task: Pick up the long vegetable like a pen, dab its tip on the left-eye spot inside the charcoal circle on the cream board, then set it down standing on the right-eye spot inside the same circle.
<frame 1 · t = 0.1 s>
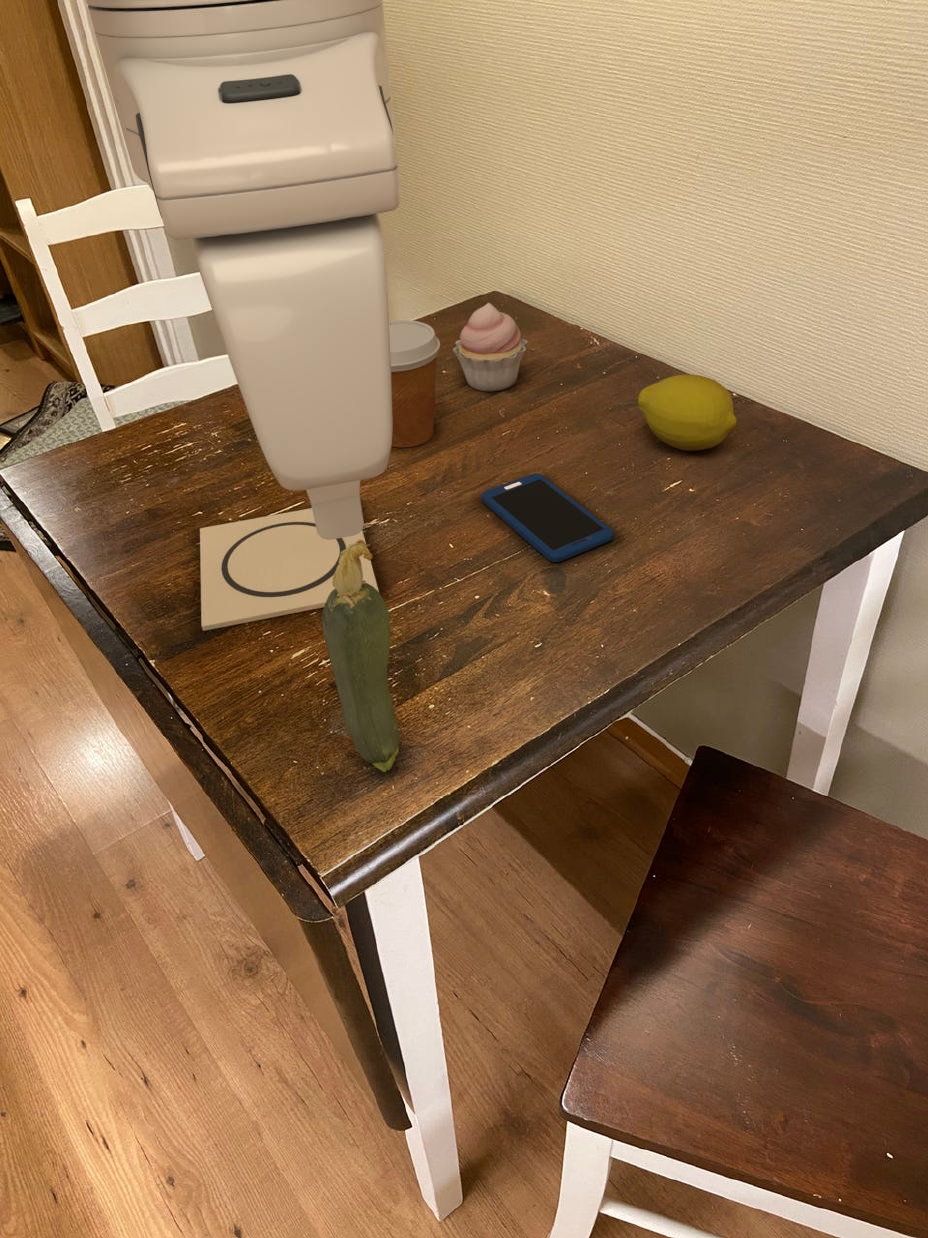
hand: (326, 467, 38), 31 cm above the table, tool pointing down, fingers open, 8 cm apart
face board: (285, 562, 85), on the table
cupcake: (492, 382, 113), on the table
cell phone: (544, 519, 88), on the table
lemon: (684, 446, 98), on the table
disposable coffee cup: (407, 436, 104), on the table
vegetable: (381, 758, 66), on the table
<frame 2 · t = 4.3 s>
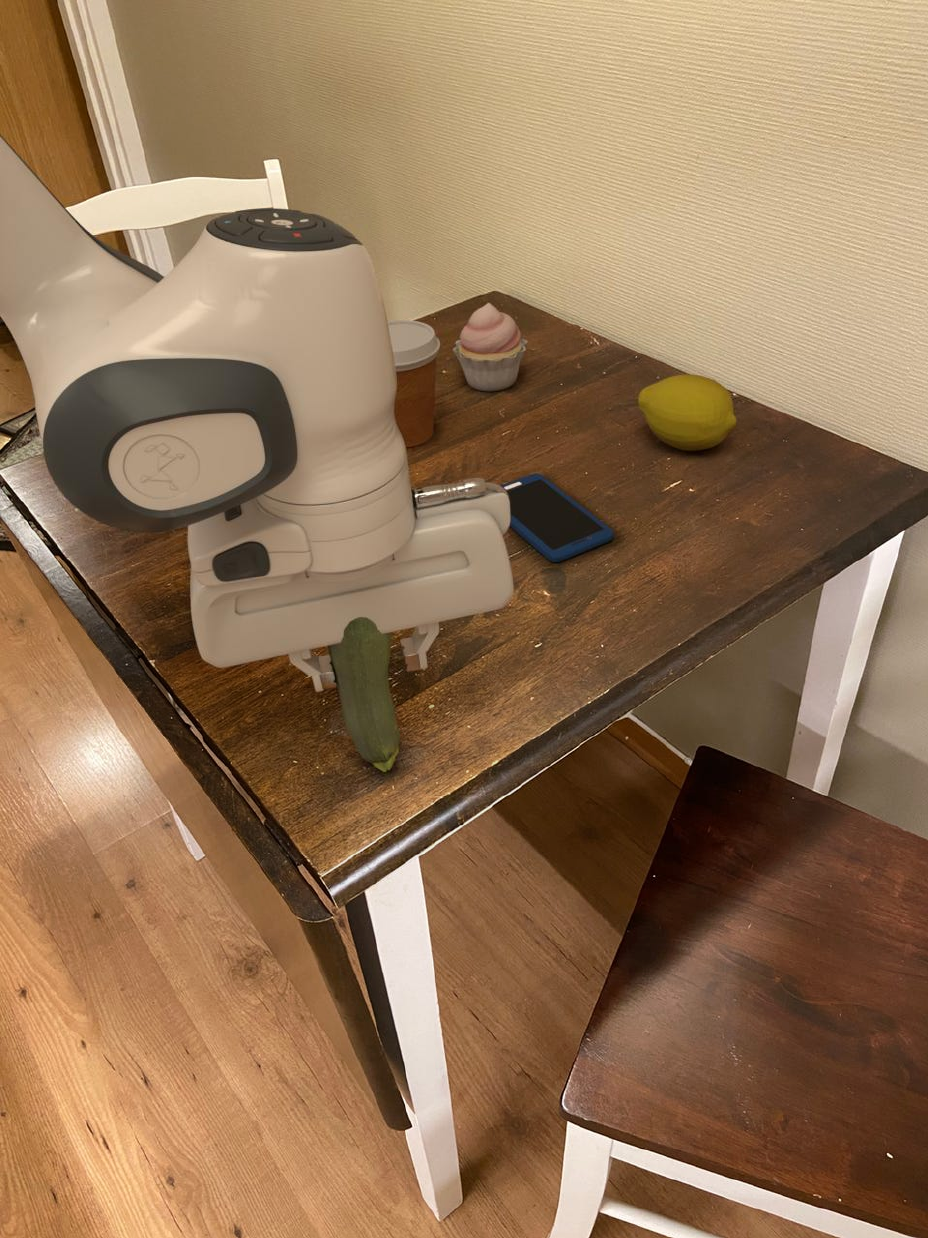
hand: (371, 674, 61), 8 cm above the table, tool pointing down, fingers open, 5 cm apart
vegetable: (381, 758, 66), on the table, touching arm, gripper
everything else where it was.
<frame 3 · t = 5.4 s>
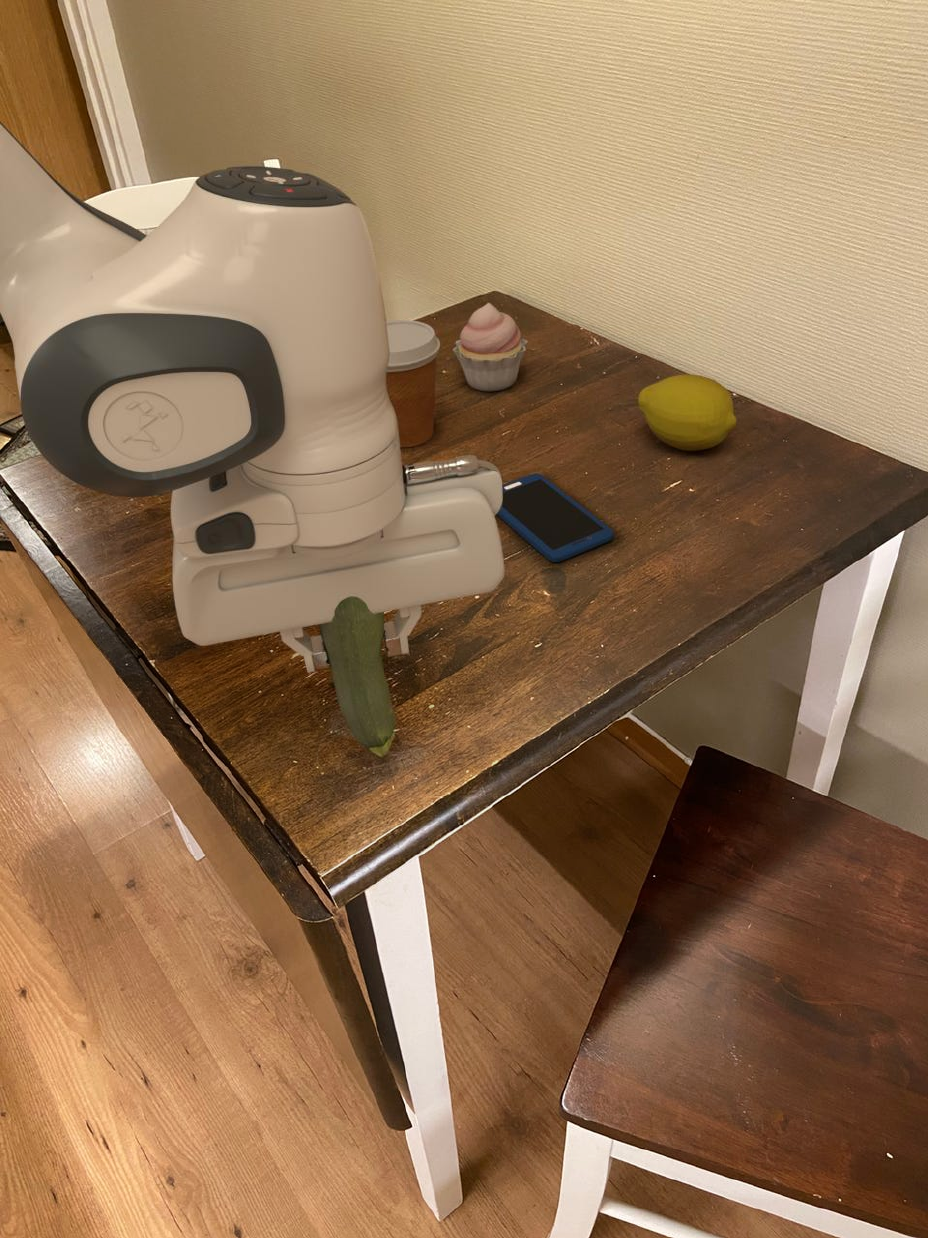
hand: (356, 657, 59), 10 cm above the table, tool pointing down, fingers closed on vegetable, 4 cm apart
vegetable: (378, 743, 65), point 2 cm above the table, touching arm, gripper
everything else where it was.
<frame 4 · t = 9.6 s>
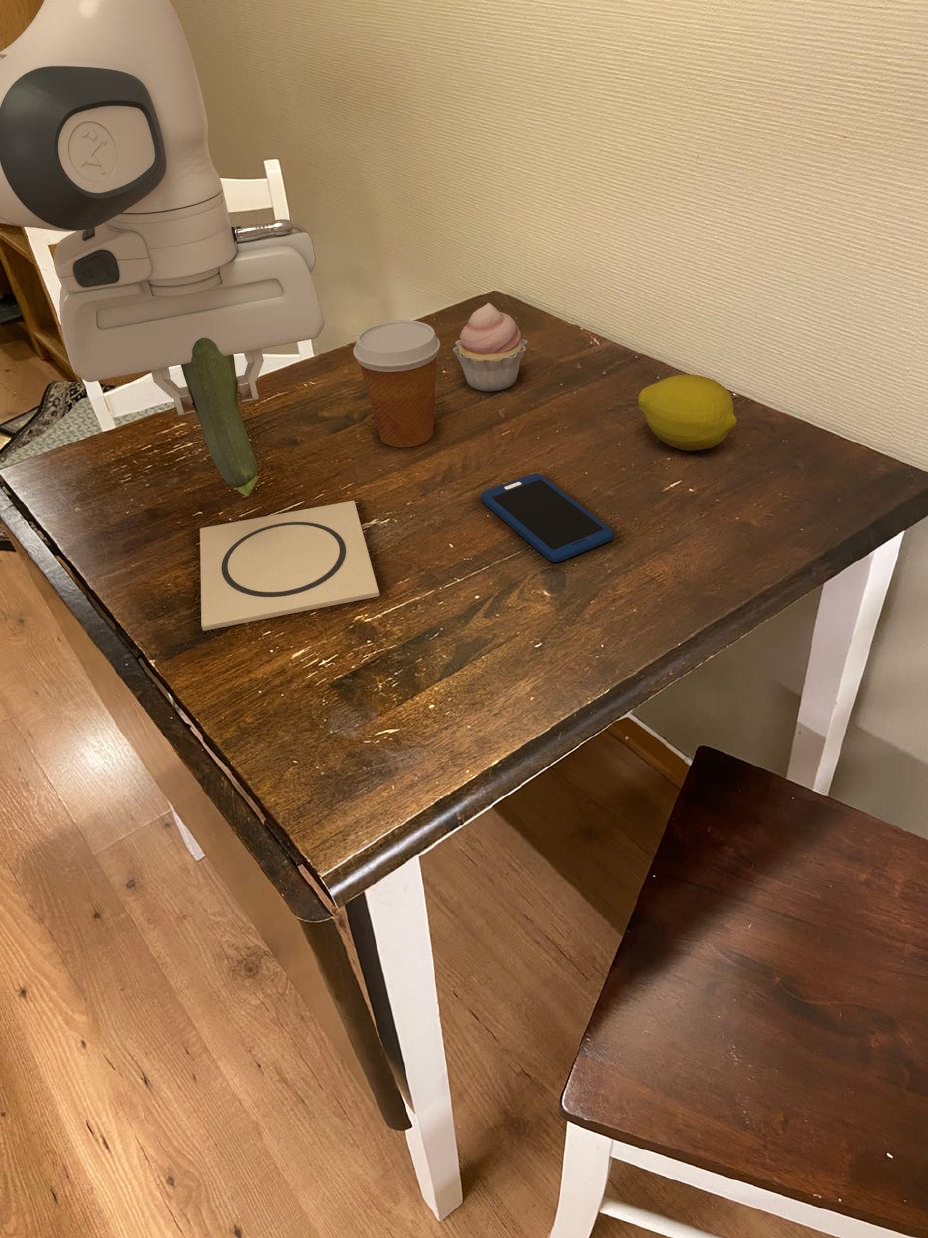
hand: (218, 404, 75), 17 cm above the table, tool pointing down, fingers closed on vegetable, 4 cm apart
vegetable: (245, 490, 81), point 8 cm above the table, touching arm, gripper
everything else where it was.
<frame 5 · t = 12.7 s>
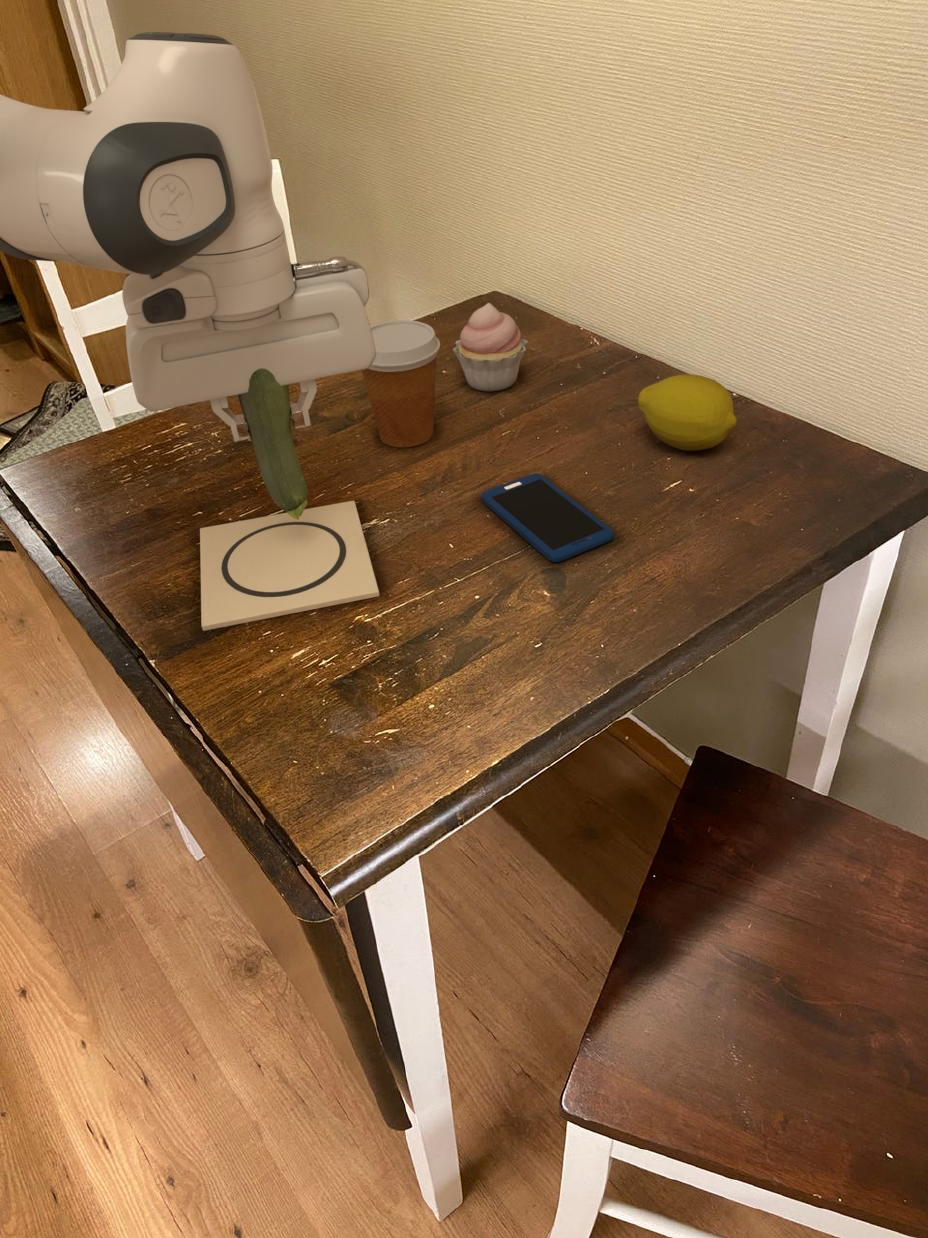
hand: (271, 431, 78), 13 cm above the table, tool pointing down, fingers closed on vegetable, 4 cm apart
vegetable: (295, 513, 84), point 4 cm above the table, touching arm, gripper
everything else where it was.
when the fingers open (9 cm above the table, at t = 14.2 s): vegetable stays where it is, resting on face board.
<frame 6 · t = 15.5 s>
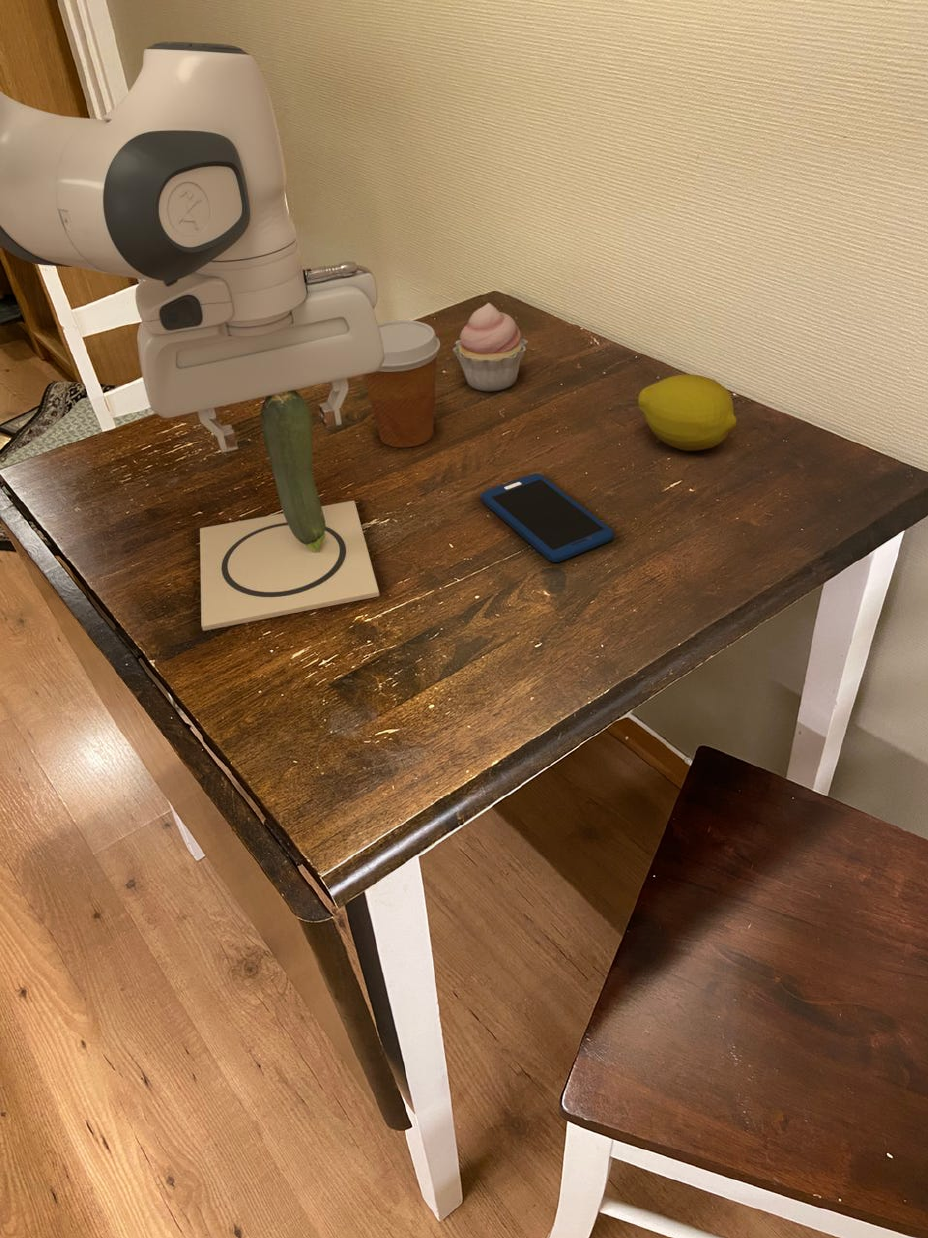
hand: (281, 436, 79), 12 cm above the table, tool pointing down, fingers open, 8 cm apart
vegetable: (312, 545, 86), point 1 cm above the table, touching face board
everything else where it was.
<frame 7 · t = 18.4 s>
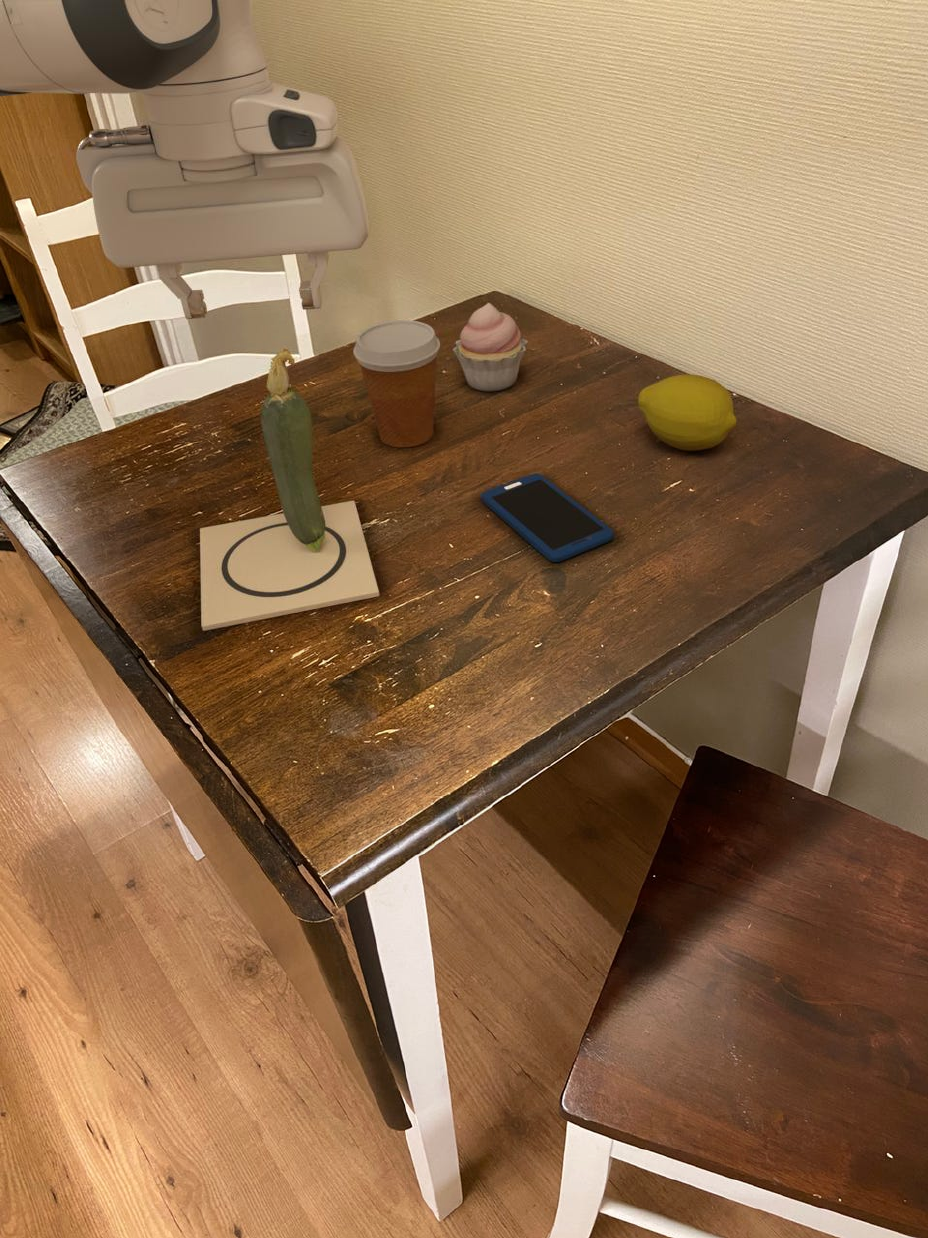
hand: (254, 311, 72), 24 cm above the table, tool pointing down, fingers open, 8 cm apart
nothing on the table moved.
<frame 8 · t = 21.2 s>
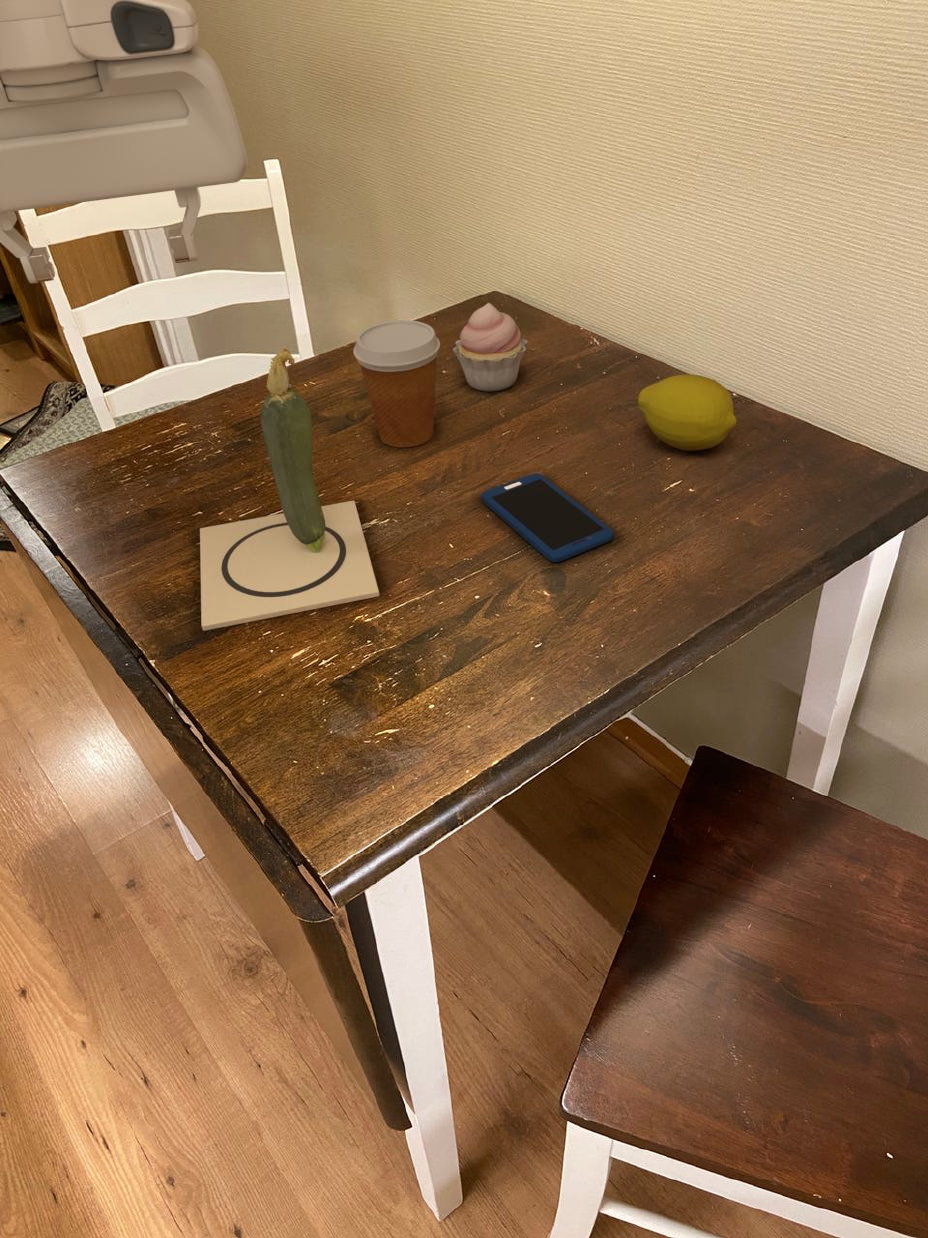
hand: (115, 269, 59), 31 cm above the table, tool pointing down, fingers open, 8 cm apart
nothing on the table moved.
at the end: vegetable inside the target area on the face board (3.1 cm from its centre), point 0.6 cm above the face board's base; vegetable tilted 0°; the gripper is holding nothing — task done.
